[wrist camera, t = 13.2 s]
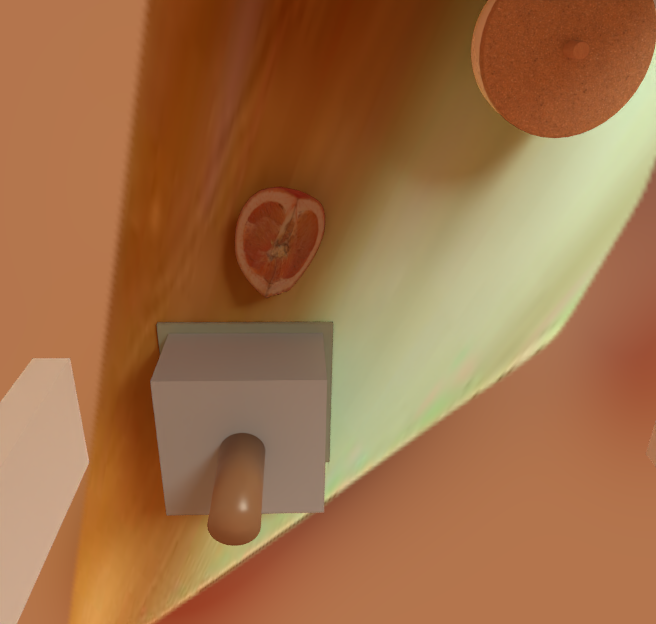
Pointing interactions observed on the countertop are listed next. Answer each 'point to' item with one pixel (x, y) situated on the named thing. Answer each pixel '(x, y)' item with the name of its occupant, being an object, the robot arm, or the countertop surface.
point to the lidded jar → (561, 60)
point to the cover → (241, 427)
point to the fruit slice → (278, 238)
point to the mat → (261, 327)
